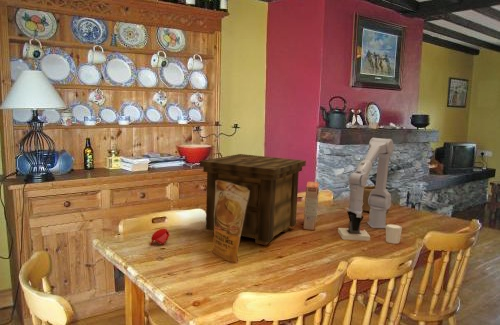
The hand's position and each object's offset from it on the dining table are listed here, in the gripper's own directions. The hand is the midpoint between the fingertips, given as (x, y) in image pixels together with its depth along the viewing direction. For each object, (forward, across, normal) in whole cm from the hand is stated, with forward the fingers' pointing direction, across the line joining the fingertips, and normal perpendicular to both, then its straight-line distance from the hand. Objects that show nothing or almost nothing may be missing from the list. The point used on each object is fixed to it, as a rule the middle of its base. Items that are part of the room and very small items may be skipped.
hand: (354, 228), depth 181 cm
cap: (+4, +21, -83) cm, 86 cm away
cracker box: (+4, -13, -18) cm, 23 cm away
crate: (+4, 0, -46) cm, 46 cm away
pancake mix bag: (+4, +31, -55) cm, 63 cm away
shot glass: (+4, +5, +16) cm, 17 cm away
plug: (+2, 0, 0) cm, 2 cm away
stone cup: (+4, -46, +21) cm, 51 cm away
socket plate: (+3, 0, 0) cm, 3 cm away
